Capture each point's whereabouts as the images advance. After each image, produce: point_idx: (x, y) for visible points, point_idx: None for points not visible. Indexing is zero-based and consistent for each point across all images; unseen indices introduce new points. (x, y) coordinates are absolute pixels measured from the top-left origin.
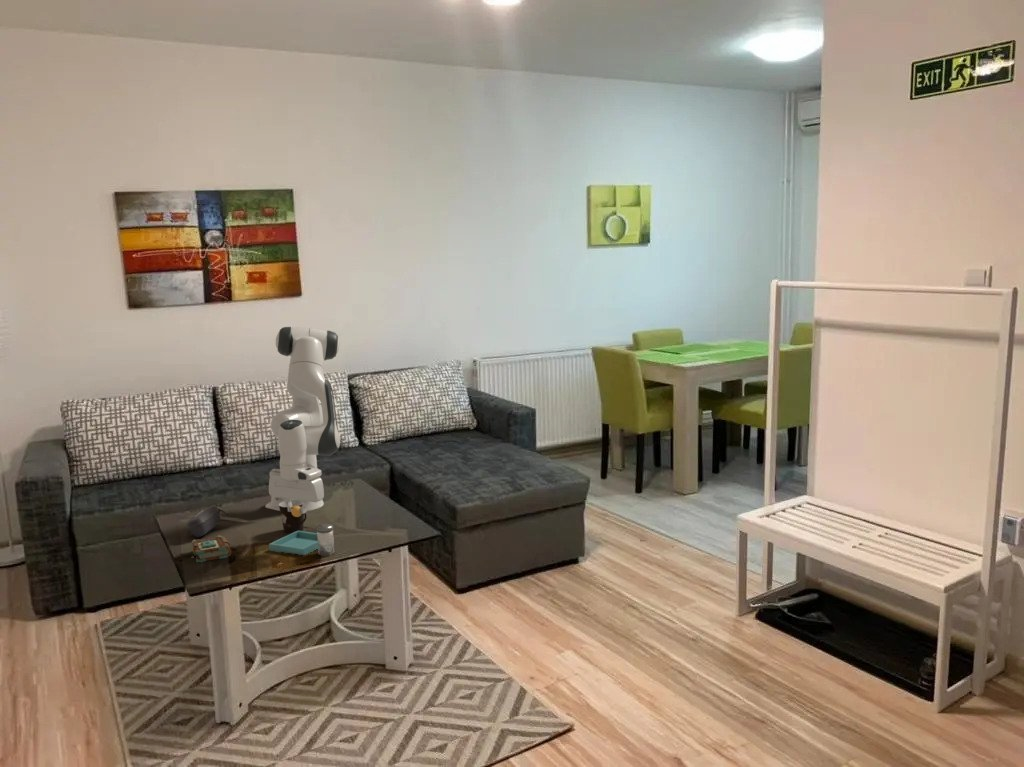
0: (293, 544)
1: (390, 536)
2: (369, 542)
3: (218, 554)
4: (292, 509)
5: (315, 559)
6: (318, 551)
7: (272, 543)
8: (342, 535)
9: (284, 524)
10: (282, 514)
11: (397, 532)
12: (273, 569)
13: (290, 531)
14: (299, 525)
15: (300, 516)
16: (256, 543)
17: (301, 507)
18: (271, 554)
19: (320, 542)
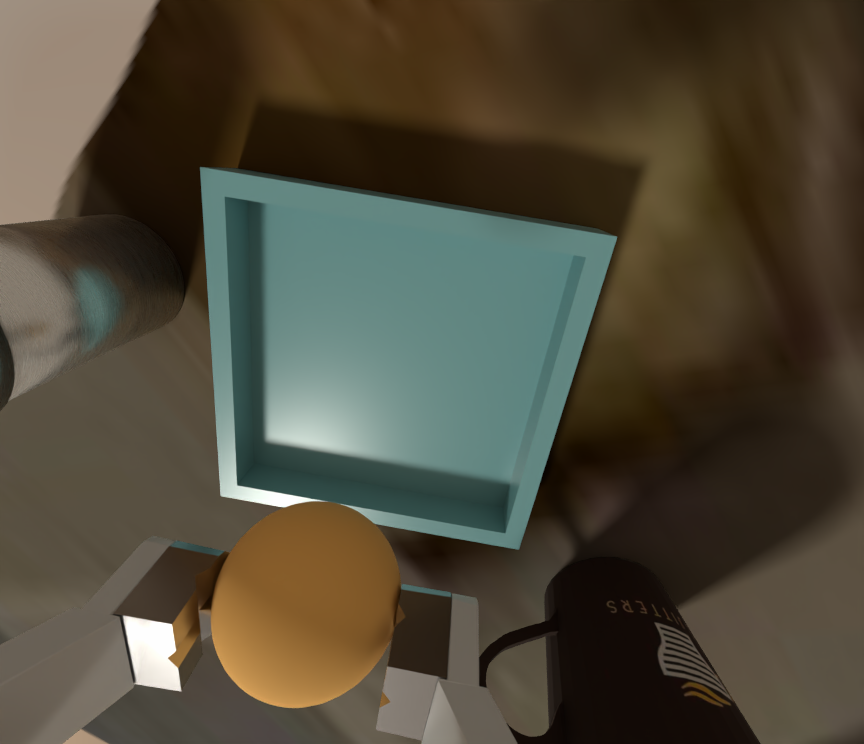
0: (448, 363)
1: (17, 575)
2: (41, 492)
3: None
4: (337, 601)
5: (109, 133)
6: (138, 238)
7: (586, 255)
8: None
9: (664, 616)
10: (711, 698)
11: (32, 621)
12: None
13: (602, 571)
14: (549, 620)
15: (554, 694)
16: (792, 376)
17: (89, 631)
18: (544, 161)
19: (18, 227)
